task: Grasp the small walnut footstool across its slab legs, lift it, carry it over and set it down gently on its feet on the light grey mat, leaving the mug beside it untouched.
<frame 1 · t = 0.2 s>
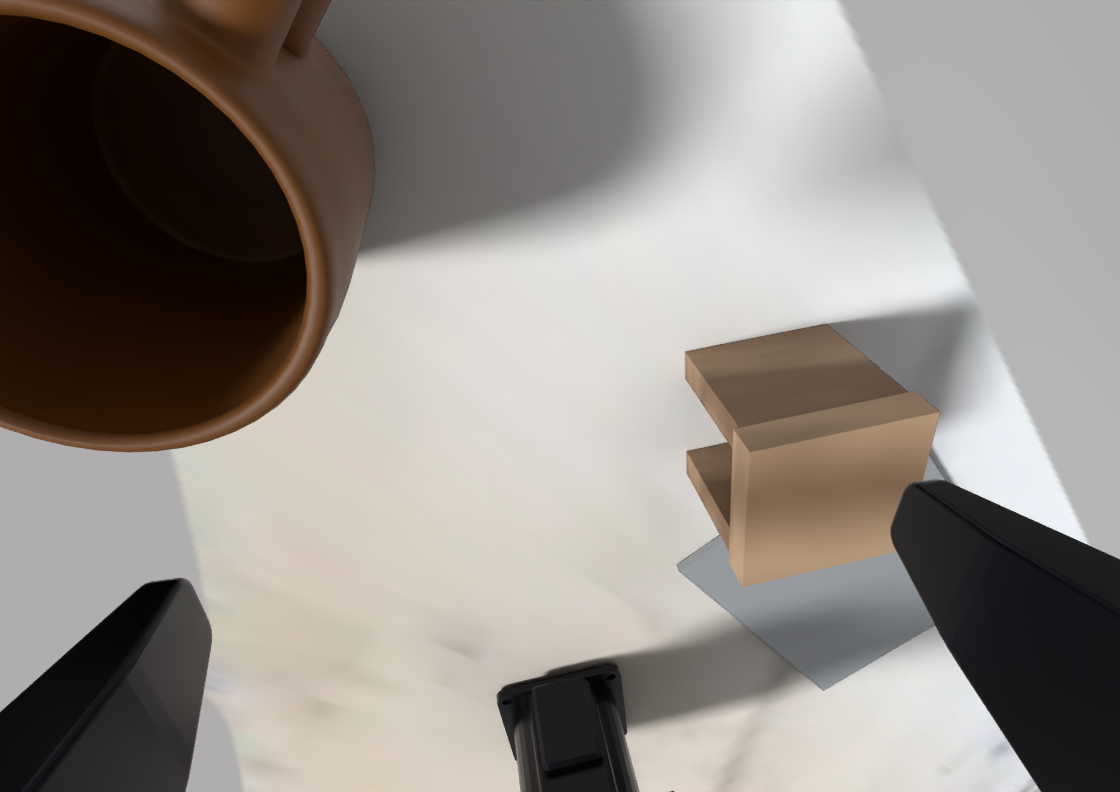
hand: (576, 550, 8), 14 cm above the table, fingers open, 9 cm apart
mug: (274, 72, 17), on the table
mat: (852, 570, 33), on the table
stool: (752, 402, 26), on the table
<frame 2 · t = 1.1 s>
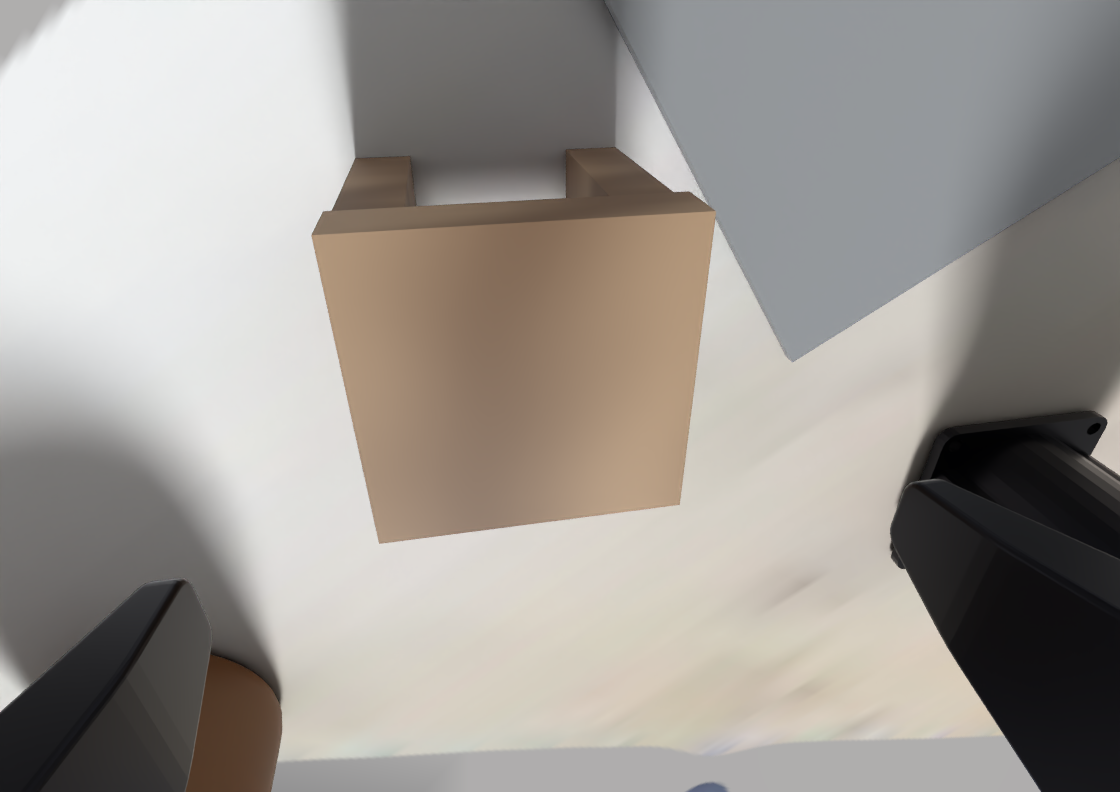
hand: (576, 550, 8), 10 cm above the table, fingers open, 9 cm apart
mug: (112, 684, 22), on the table
stool: (496, 268, 16), on the table
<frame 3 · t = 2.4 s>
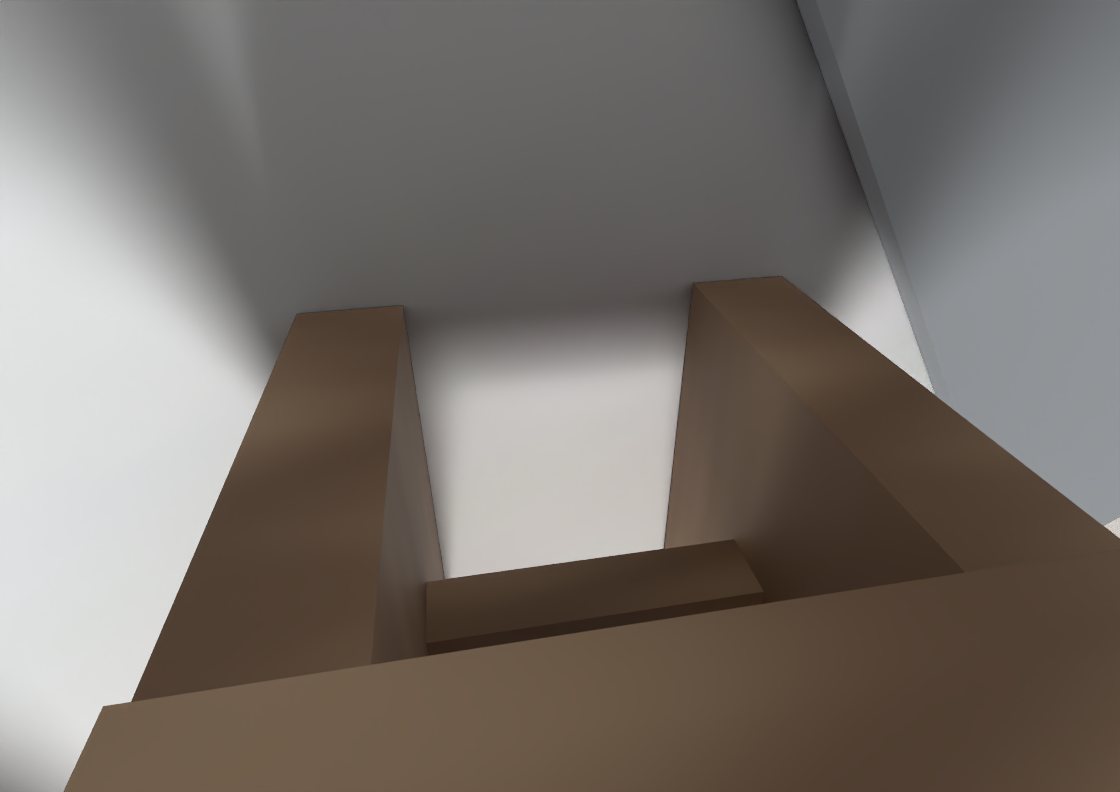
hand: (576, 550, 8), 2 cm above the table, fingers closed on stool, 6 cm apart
stool: (555, 473, 9), on the table, touching gripper
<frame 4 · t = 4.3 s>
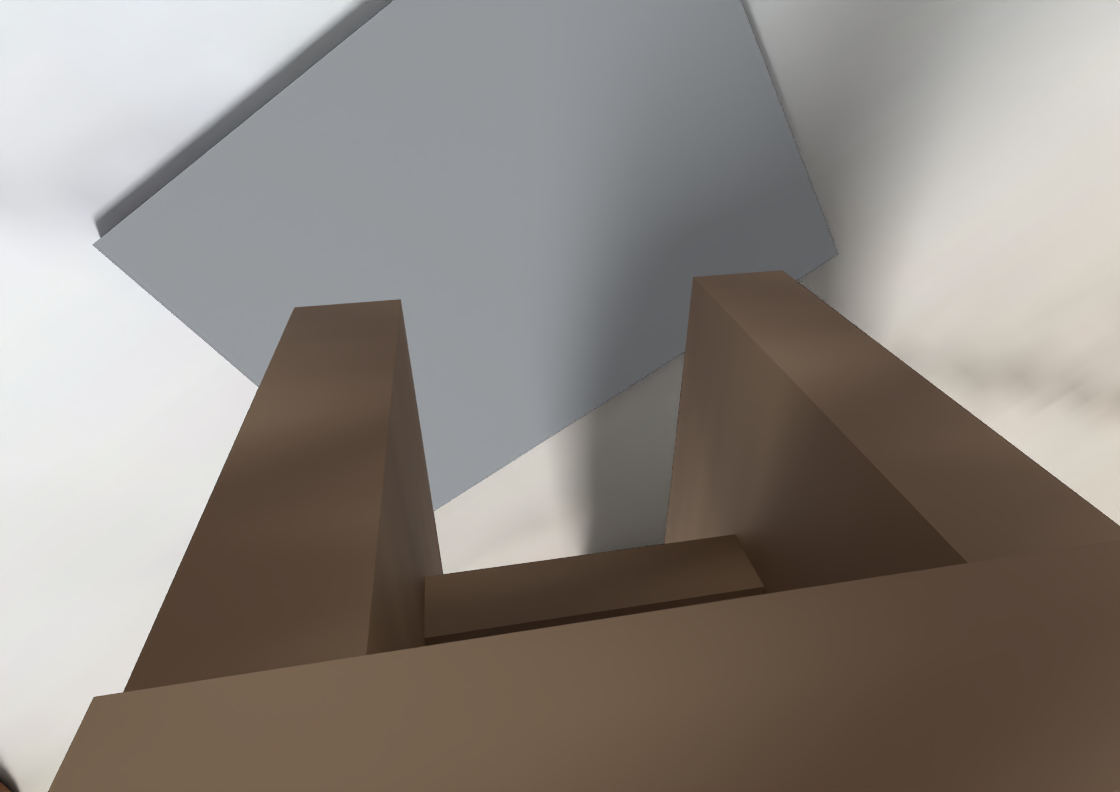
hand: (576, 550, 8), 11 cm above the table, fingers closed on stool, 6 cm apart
mat: (504, 245, 17), on the table
stool: (554, 468, 9), point 10 cm above the table, touching gripper
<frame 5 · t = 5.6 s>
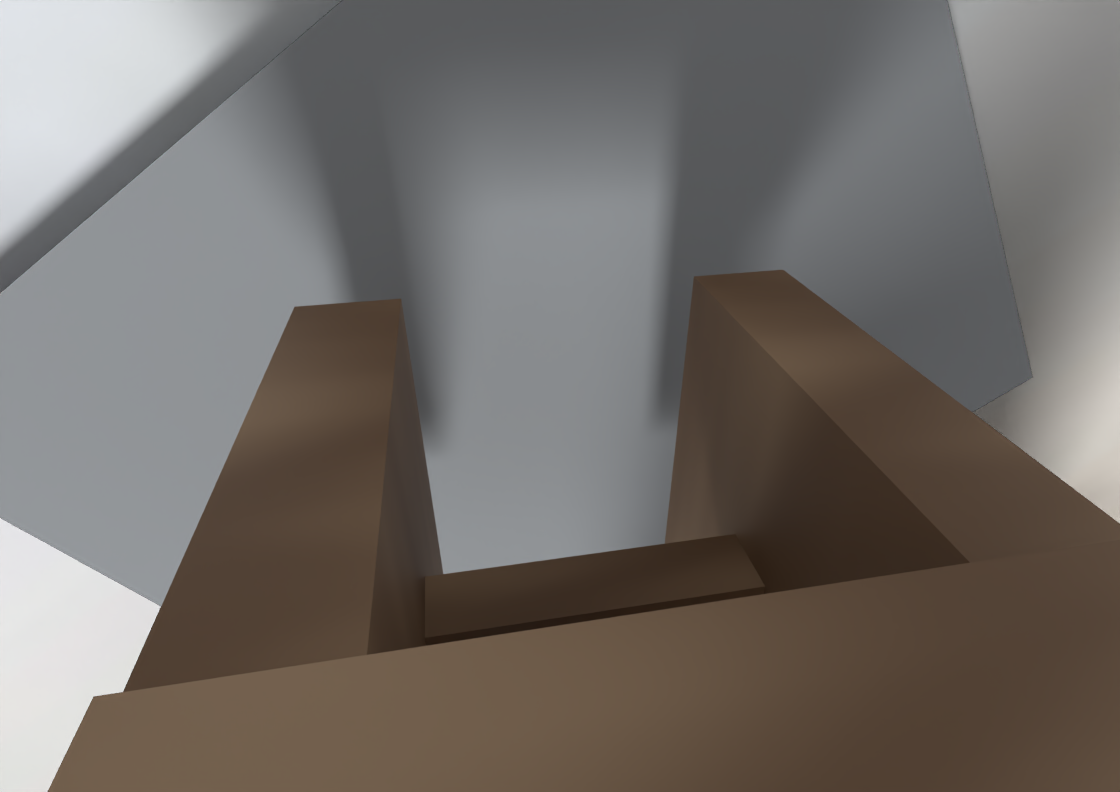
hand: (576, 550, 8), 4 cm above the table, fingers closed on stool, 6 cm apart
mat: (531, 387, 11), on the table
stool: (555, 468, 9), point 2 cm above the table, touching gripper
when the fingers open (3 cm above the table, at t = 6.3 s): stool stays where it is, resting on mat.
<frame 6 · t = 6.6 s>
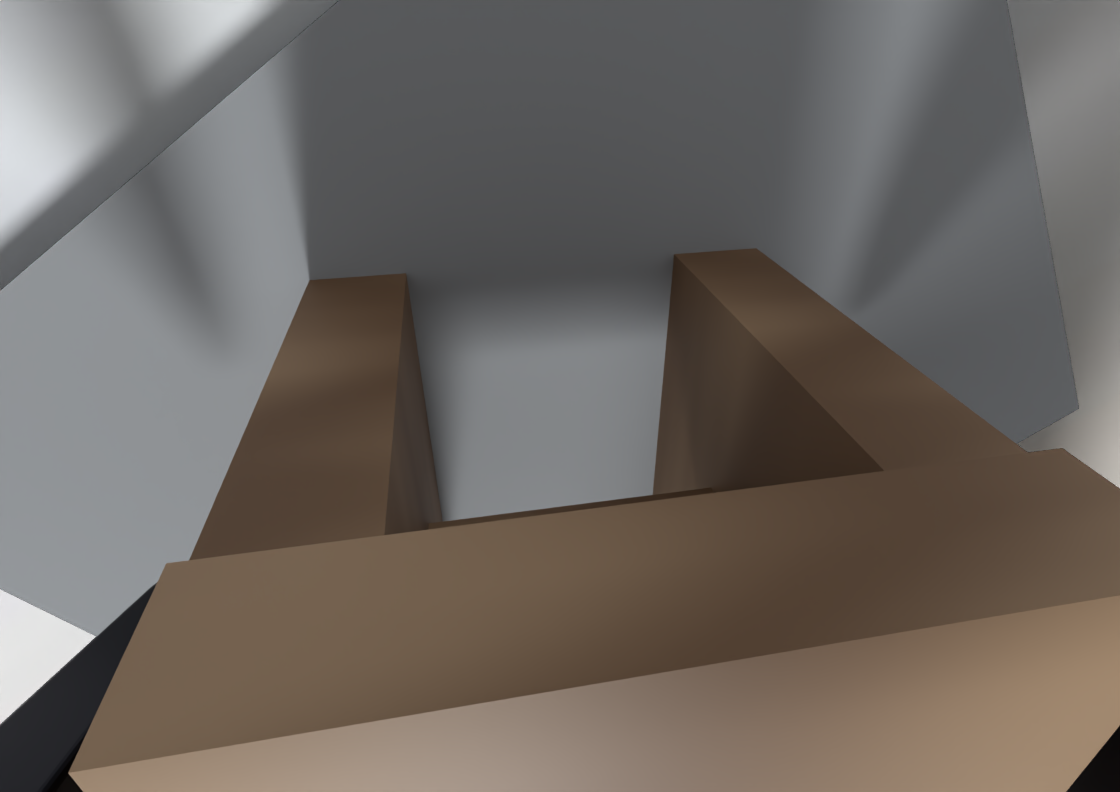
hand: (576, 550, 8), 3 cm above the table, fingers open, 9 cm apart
mat: (541, 423, 10), on the table
stool: (548, 434, 10), resting on mat
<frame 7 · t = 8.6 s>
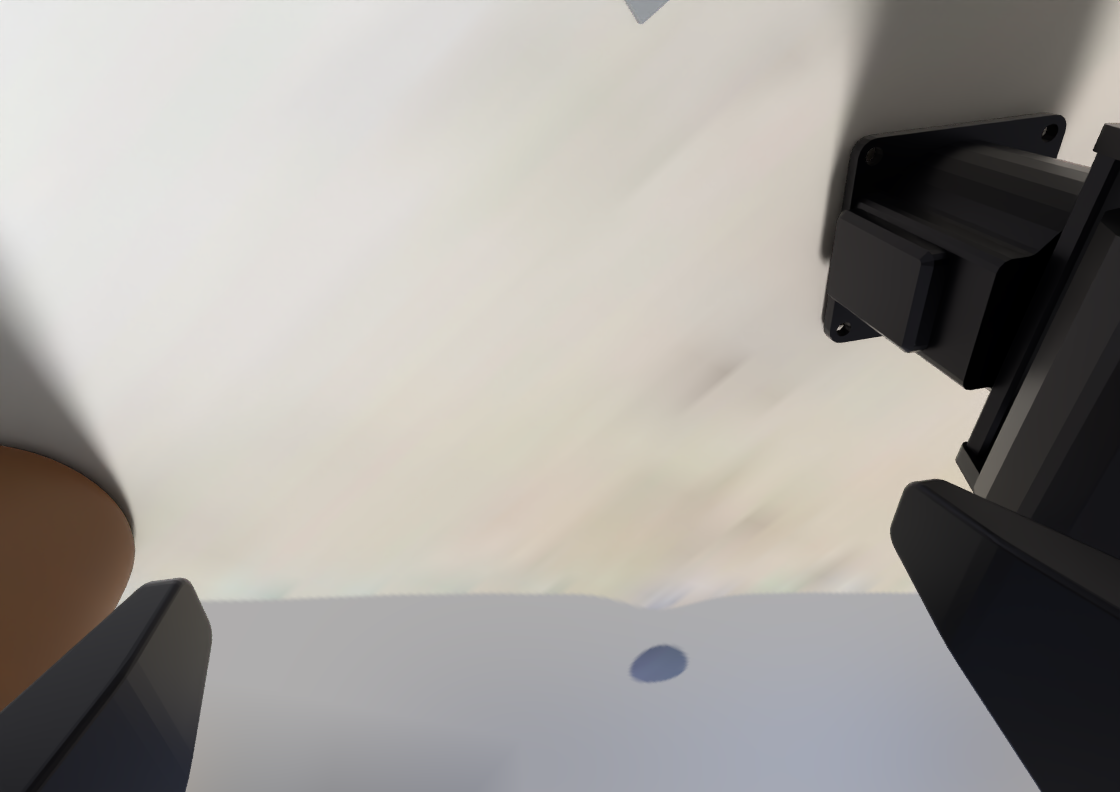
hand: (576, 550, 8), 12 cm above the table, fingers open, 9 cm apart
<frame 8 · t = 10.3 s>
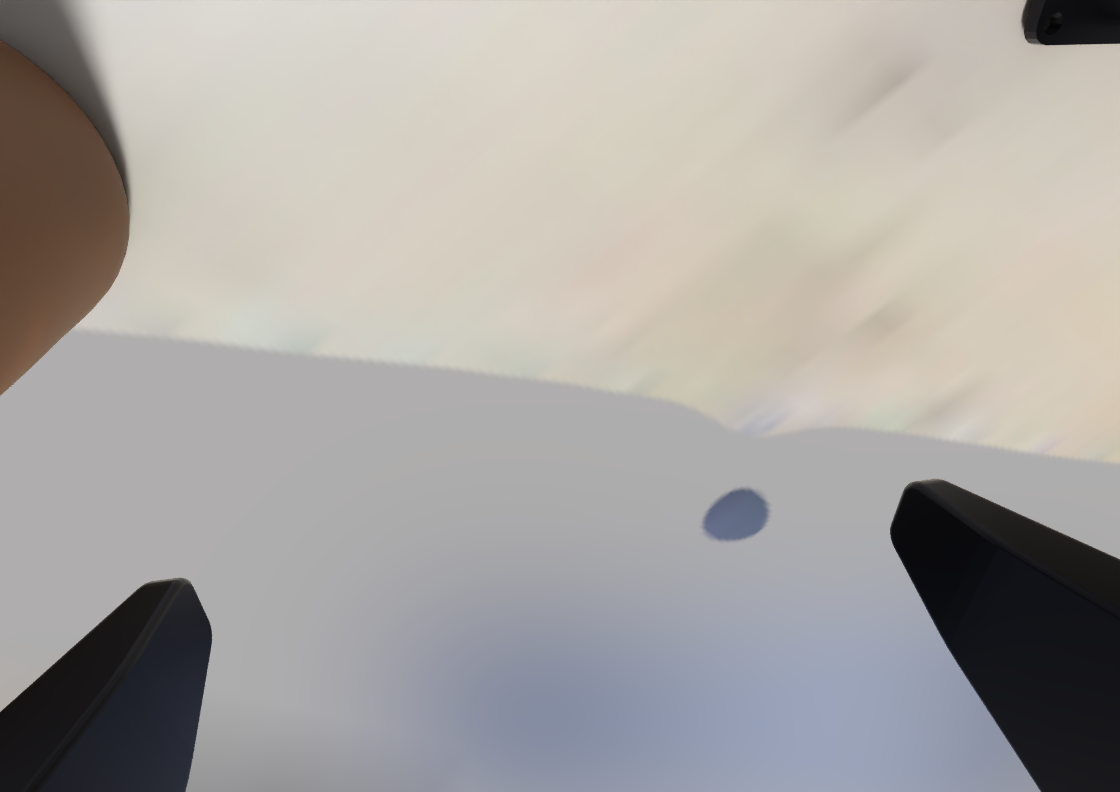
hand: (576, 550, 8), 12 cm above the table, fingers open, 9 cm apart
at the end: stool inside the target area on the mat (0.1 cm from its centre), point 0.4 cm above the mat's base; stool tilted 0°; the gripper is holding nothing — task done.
